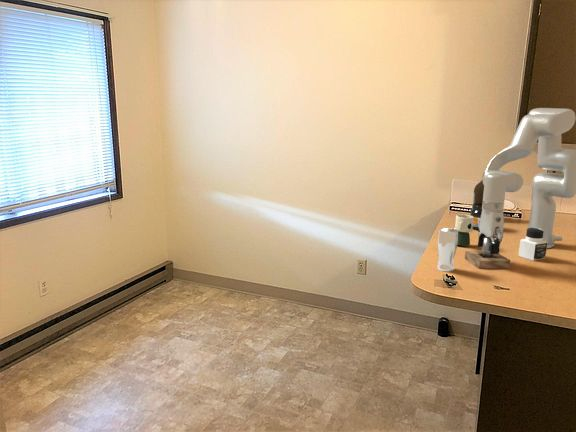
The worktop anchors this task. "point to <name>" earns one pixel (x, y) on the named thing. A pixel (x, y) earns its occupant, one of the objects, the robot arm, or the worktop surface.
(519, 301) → the worktop surface
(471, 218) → the character mug
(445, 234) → the beer glass
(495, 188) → the robot arm
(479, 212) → the supplement container
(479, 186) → the olive oil
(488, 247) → the metal peg
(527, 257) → the medicine bottle
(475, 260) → the square ring frame
